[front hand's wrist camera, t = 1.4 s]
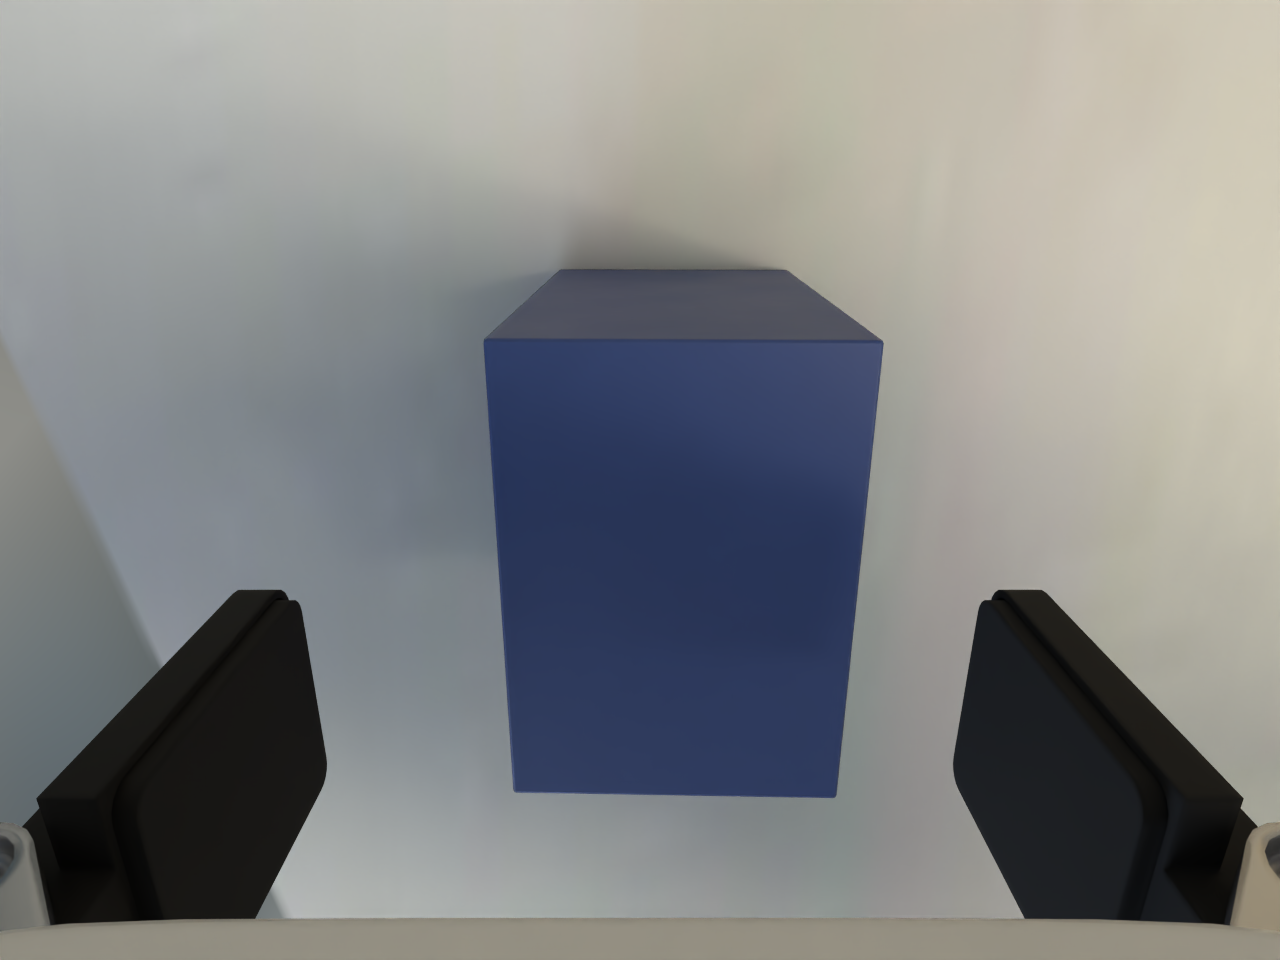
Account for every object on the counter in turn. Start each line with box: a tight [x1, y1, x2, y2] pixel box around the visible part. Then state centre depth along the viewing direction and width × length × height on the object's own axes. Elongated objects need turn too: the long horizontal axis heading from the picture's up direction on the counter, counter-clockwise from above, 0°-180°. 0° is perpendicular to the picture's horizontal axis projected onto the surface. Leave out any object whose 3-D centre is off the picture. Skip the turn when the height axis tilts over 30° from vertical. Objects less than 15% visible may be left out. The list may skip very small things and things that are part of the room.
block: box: [484, 270, 883, 798], centre depth 19 cm, size 6×9×10 cm
